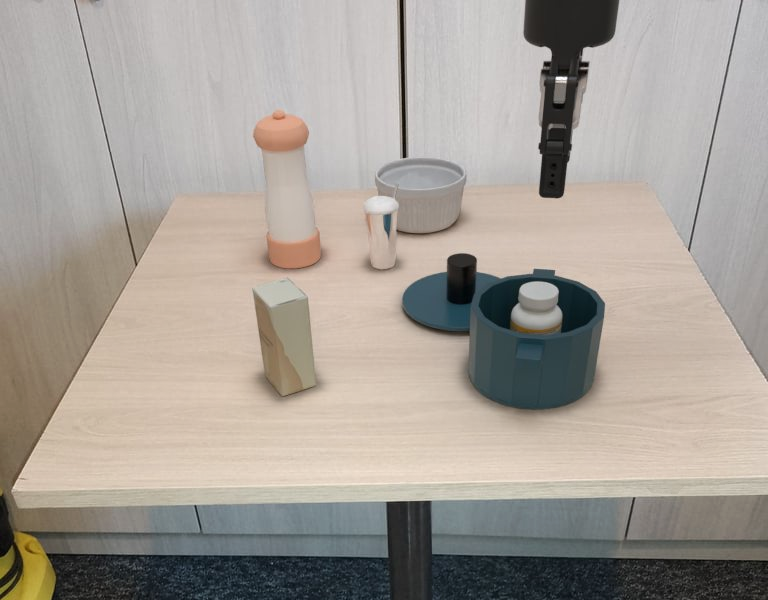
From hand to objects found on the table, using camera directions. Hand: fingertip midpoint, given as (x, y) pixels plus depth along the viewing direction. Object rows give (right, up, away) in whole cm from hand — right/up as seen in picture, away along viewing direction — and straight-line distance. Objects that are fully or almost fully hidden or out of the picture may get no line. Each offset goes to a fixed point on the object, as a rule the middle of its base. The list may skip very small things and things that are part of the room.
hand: (554, 178), depth 75 cm
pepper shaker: (-28, +4, +38) cm, 48 cm away
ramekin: (-10, +13, +46) cm, 49 cm away
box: (-26, -17, +15) cm, 35 cm away
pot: (0, -16, +14) cm, 21 cm away
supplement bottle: (0, -16, +14) cm, 21 cm away
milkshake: (-16, +3, +36) cm, 39 cm away
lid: (-6, -5, +26) cm, 27 cm away
